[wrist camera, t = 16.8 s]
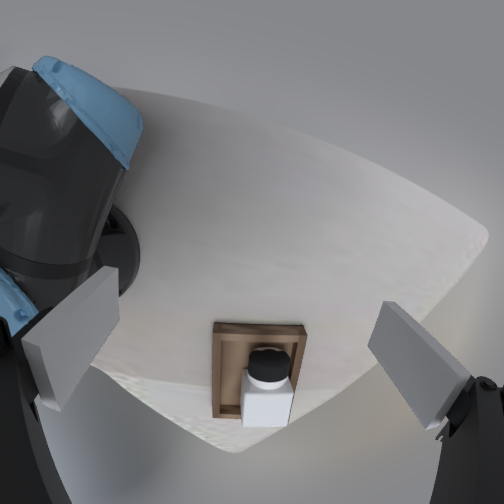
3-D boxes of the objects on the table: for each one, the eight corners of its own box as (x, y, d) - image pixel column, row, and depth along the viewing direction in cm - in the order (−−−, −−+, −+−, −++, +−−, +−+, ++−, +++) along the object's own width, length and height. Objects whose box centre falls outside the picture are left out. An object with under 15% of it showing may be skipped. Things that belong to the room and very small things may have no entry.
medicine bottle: (288, 427, 37) (299, 365, 36) (241, 428, 37) (246, 365, 35) (280, 401, 44) (289, 342, 43) (239, 401, 44) (244, 341, 42)
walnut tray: (213, 406, 46) (212, 417, 43) (214, 322, 41) (212, 332, 38) (285, 406, 47) (288, 418, 44) (302, 325, 42) (307, 335, 39)
